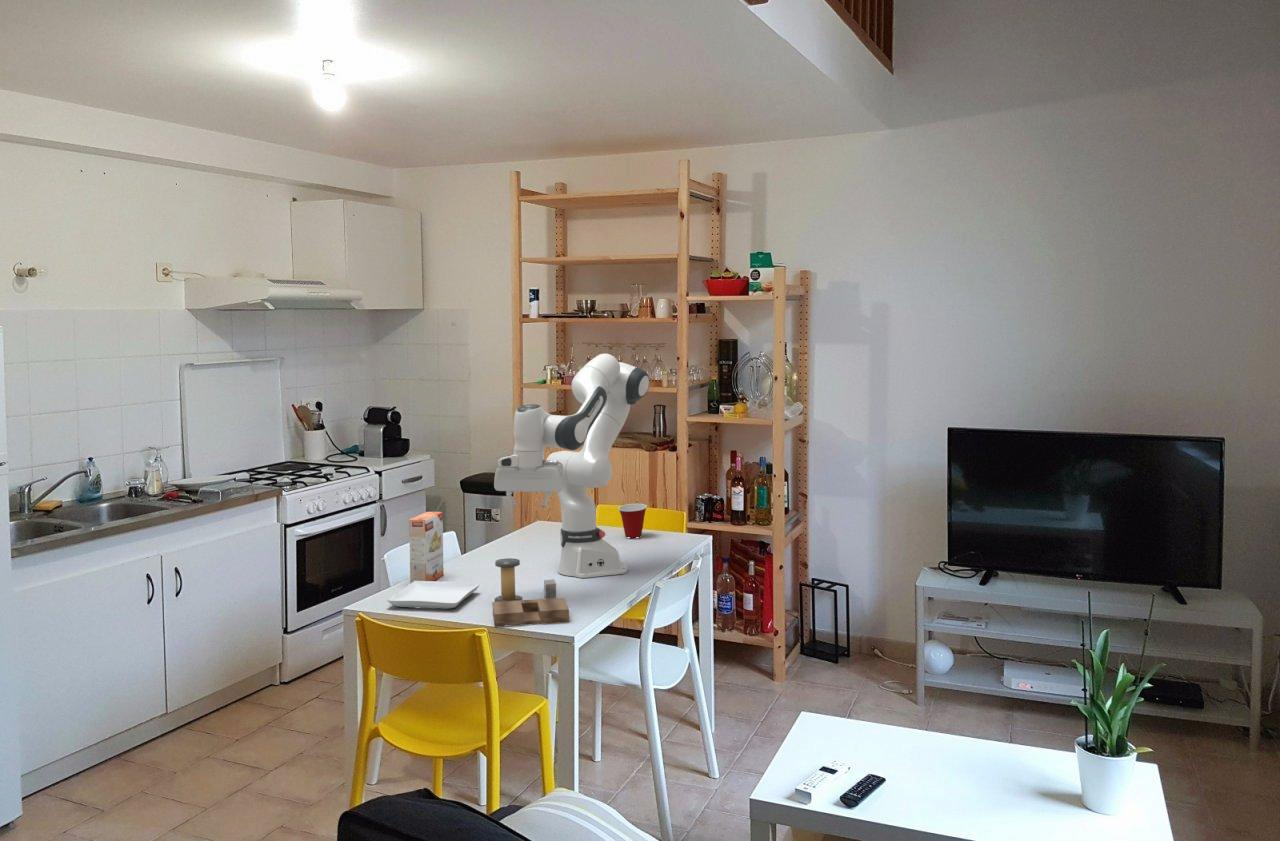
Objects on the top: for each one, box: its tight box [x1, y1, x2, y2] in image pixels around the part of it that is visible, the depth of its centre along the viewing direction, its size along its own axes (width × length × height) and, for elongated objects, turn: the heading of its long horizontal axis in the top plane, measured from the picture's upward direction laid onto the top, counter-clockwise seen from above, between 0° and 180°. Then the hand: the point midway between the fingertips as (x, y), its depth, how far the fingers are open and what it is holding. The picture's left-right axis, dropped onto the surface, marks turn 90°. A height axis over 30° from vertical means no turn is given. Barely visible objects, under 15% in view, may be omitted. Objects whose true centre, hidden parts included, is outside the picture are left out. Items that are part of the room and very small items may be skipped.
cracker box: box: [408, 511, 445, 584], centre depth 326 cm, size 14×6×21 cm, turn 168°
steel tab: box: [543, 579, 557, 599], centre depth 300 cm, size 3×5×6 cm, turn 11°
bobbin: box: [494, 557, 523, 602], centre depth 298 cm, size 8×8×12 cm
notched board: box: [491, 597, 570, 628], centre depth 284 cm, size 20×12×4 cm, turn 101°
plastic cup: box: [617, 503, 648, 538], centre depth 386 cm, size 11×11×12 cm
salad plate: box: [386, 580, 480, 610], centre depth 303 cm, size 21×21×3 cm
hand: (528, 506), depth 305 cm, fingers open, 8 cm apart
